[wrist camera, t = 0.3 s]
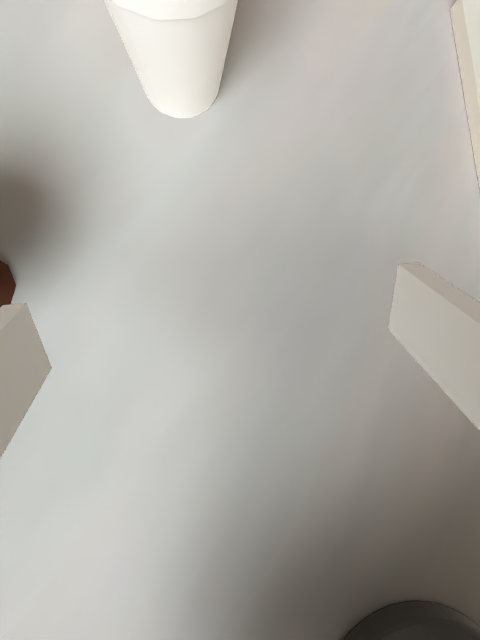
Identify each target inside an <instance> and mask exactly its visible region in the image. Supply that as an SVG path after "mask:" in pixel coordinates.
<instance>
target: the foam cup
mask: <svg viewBox="0 0 480 640" xmlns="http://www.w3.org/2000/svg"><path fill="white" fill-rule="evenodd" d="M104 1H105V3H106V6H107V8H108V10H109V12H110V15H111V17H112V19H113V21H114V24H115V26H116V28H117V30H118V33H119V35H120V37H121V39H122V42H123V44H124V46H125V48H126V51H127V53H128V55H129V57H130V60H131V62H132V64H133V66H134V69H135V71H136V73H137V75H138V78H139V80H140V82H141V84H142V87H143V89H144V91H145V93H146V95H147V97H148V99H149V101H150V102H151V103H152V104H153V105H154V106H155V107H156V108H157V109H158V110H159V111H160V112H162V113H164V114H167V115H170V116H172V117H175V118H189V117H195V116H197V115H199V114H201V113H203V112H204V111H206V110H208V109H209V108H210V106H211V105H212V103H213V102H214V100H215V99H216V97H217V94H218V91H219V87H220V82H221V77H222V73H223V68H224V63H225V59H226V54H227V49H228V45H229V40H230V36H231V31H232V26H233V22H234V17H235V12H236V8H237V3H238V0H104Z"/></svg>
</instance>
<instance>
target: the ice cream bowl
mask: <svg viewBox="0 0 480 640" xmlns="http://www.w3.org/2000/svg"><path fill="white" fill-rule="evenodd" d="M15 286H16V285H15V282H14V280H13V277H12V275H11V272H10V269H9V267H8V265H7V264H5V263H3V262H2V261H0V307H1V306H3V305H9V304H10V303H11V300H12V296H13V293H14V290H15Z"/></svg>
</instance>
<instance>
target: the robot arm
mask: <svg viewBox="0 0 480 640" xmlns="http://www.w3.org/2000/svg"><path fill="white" fill-rule="evenodd" d="M388 330H389V331H390V332H391V333H392V334H393V335H394V337H395V338H396V339H397V340H398V341H399V342H400V343H401V344H402V345H403V347H404V348H405V349H406V350H407V351H408V352H409V353H410V354H411V355H412V357H413V358H414V359H415V360H416V361H417V362H418V363H419V364H420V365H421V367H422V368H423V369H424V370H425V371H426V372H427V373H428V374H429V375H430V377H431V378H432V379H433V380H434V381H435V382H436V383H437V384H438V385H439V387H440V388H441V389H442V390H443V391H444V392H445V393H446V394H447V395H448V397H449V398H450V399H451V400H452V401H453V402H454V403H455V404H456V405H457V407H458V408H459V409H460V410H461V411H462V412H463V413H464V414H465V415H466V417H467V418H468V419H469V420H470V421H471V422H472V423H473V424H474V425H475V427H476V428H477V429H478V430H479V431H480V302H478V301H477V300H475V299H474V298H472V297H471V296H469V295H468V294H466V293H464V292H463V291H461V290H460V289H458V288H457V287H455V286H454V285H452V284H451V283H449V282H448V281H446V280H445V279H443V278H442V277H440V276H439V275H437V274H436V273H434V272H433V271H431V270H430V269H428V268H427V267H425V266H424V265H422V264H421V263H419V262H416V263H407V264H398V269H397V276H396V282H395V288H394V295H393V301H392V307H391V314H390V320H389V327H388ZM51 368H52V367H51V365H50V362H49V360H48V357H47V354H46V352H45V349H44V347H43V344H42V342H41V339H40V337H39V334H38V332H37V329H36V327H35V324H34V322H33V319H32V317H31V314H30V312H29V309H28V307H27V304H26V303H19V304H9V305H3V306H1V307H0V458H1V457H2V455H3V453H4V451H5V450H6V448H7V446H8V444H9V442H10V441H11V439H12V437H13V435H14V434H15V432H16V430H17V428H18V427H19V425H20V423H21V421H22V420H23V418H24V416H25V414H26V412H27V411H28V409H29V407H30V405H31V404H32V402H33V400H34V398H35V397H36V395H37V393H38V391H39V389H40V388H41V386H42V384H43V382H44V381H45V379H46V377H47V375H48V374H49V372H50V370H51ZM344 640H480V628H479V627H478V626H477V625H476V624H475V623H474V622H473V621H471V620H470V619H469V618H468V617H466V616H465V615H463V614H461V613H460V612H458V611H456V610H454V609H452V608H449V607H447V606H444V605H441V604H437V603H432V602H425V601H410V602H403V603H398V604H394V605H391V606H388V607H385V608H383V609H381V610H379V611H377V612H375V613H373V614H371V615H370V616H368V617H367V618H365V619H364V620H363V621H361V622H360V623H359V624H358V625H357V626H356V627H355V628H354V629H352V631H351V632H350V633H349V634H348V635H347V636H346V637H345V639H344Z"/></svg>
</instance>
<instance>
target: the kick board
mask: <svg viewBox="0 0 480 640" xmlns="http://www.w3.org/2000/svg"><path fill="white" fill-rule="evenodd" d="M450 14H451V20H452V26H453V32H454V38H455V44H456V50H457V56H458V62H459V68H460V74H461V80H462V86H463V92H464V99H465V105H466V111H467V117H468V123H469V129H470V135H471V141H472V147H473V153H474V159H475V165H476V171H477V177H478V183H479V190H480V0H457V1H456V2H455V4H454V5H453V6H452V8H451V9H450Z"/></svg>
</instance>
